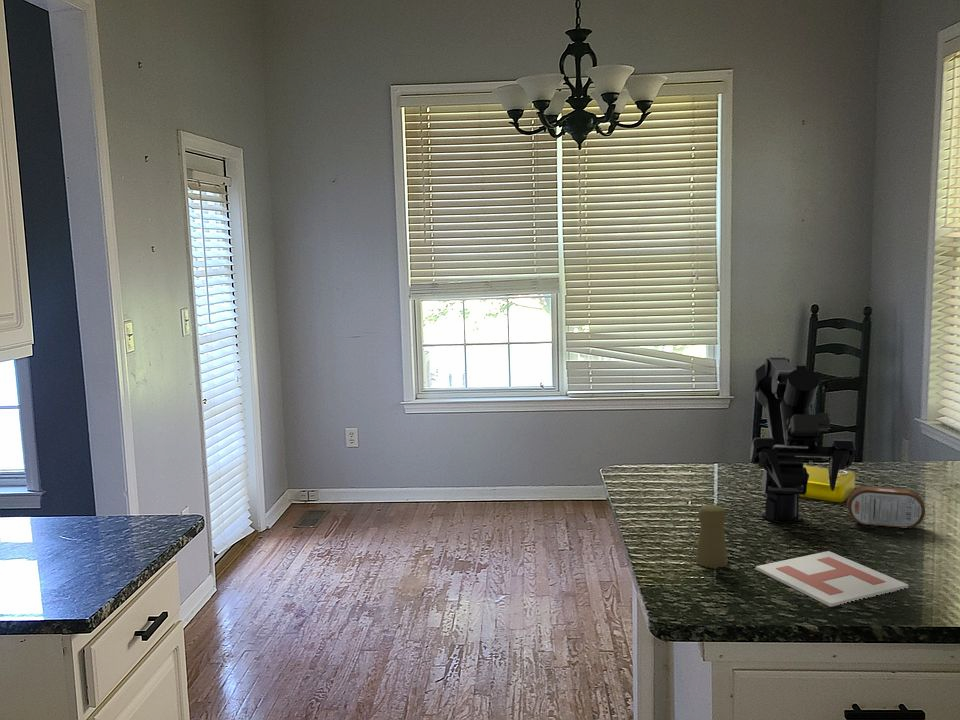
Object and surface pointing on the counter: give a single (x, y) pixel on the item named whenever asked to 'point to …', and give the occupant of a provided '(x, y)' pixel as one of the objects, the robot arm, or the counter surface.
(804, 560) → the letter board
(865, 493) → the tin
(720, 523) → the cork
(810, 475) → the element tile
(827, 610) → the counter surface
